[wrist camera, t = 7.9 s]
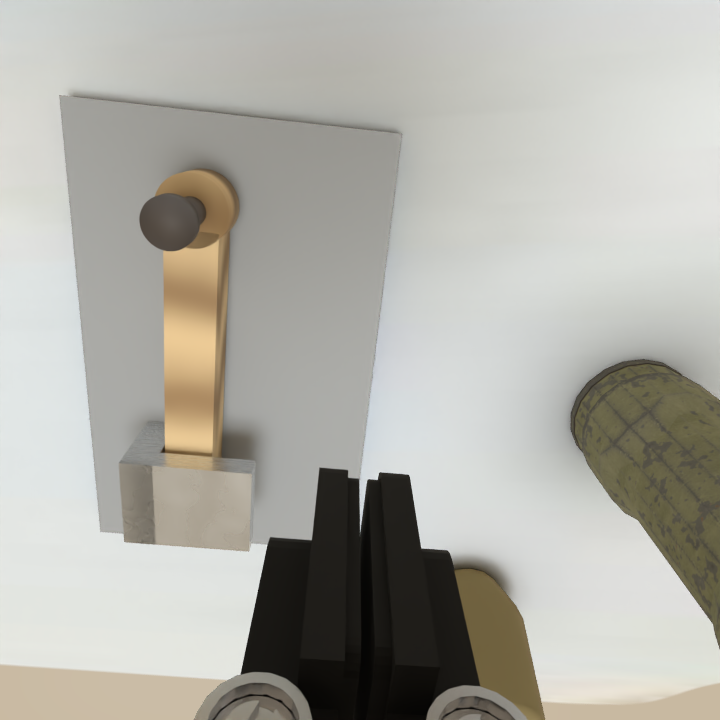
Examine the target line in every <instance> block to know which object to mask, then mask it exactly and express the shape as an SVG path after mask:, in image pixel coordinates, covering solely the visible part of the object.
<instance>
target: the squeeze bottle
mask: <svg viewBox="0 0 720 720" xmlns="http://www.w3.org/2000/svg"><path fill="white" fill-rule="evenodd" d="M454 571H455V576H456V580H457V585H458V589H459V594H460V598H461V602H462V607H463V611H464V616H465V620H466V625H467V629H468V633H469V638H470V642H471V647H472V651H473V656H474V660H475V664H476V669H477V673H478V678H479V682H480V687H483V688H486V689H488V690H491V691H494V692H497V693H498V694H500V695H501V696H503V697H504V698H506V699H507V700H509V701H511V702H512V703H513V704H514V705H515V706H516V707H517V708H518V709H519V710H520V711H521V712H522V713H523V714H524V715H525V716H526V718H527V720H545V717H544V713H543V707H542V703H541V698H540V694H539V689H538V685H537V680H536V676H535V671H534V666H533V662H532V657H531V653H530V648H529V644H528V639H527V634H526V630H525V625H524V621H523V618H522V616H521V614H520V612H519V610H518V609H517V607H516V605H515V604H514V603H513V601H512V600H511V599H510V598H509V597H508V596H507V594H506V593H505V592H504V591H503V590H502V588H501V587H500V586H499V585H498V584H497V583H496V581H495V580H494V579H493V578H492V577H490V576H489V575H487V574H486V573H484V572H483V571H478V570H474V569H458V570H454Z"/></svg>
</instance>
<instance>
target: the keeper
mask: <svg viewBox="0 0 720 720" xmlns="http://www.w3.org/2000/svg"><path fill="white" fill-rule="evenodd" d="M118 464H119V477H120V491H121V504H122V518H123V531H124V542H129V543H143V544H156V545H170V546H183V547H196V548H210V549H223V550H236V551H249V550H250V546H251V542H252V538H253V521H254V494H255V468H256V460H244V459H232V458H220V457H208V456H196V455H184V454H171V453H165V422H161V421H149V420H148V422H147V423H146V425H145V426H144V428H143V429H142V430H141V432H140V433H139V435H138V436H137V438H136V439H135V440H134V442H133V443H132V445H131V446H130V448H129V449H128V450H127V452H126V453H125V455H124V456H123V457H122V459H121V460H120V462H119V463H118Z"/></svg>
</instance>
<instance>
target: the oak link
mask: <svg viewBox="0 0 720 720" xmlns="http://www.w3.org/2000/svg"><path fill="white" fill-rule="evenodd" d="M238 215H239V199H238V196H237V193H236V191H235V189H234V187H233V186H232V184H231V183H230V182H229V181H228V180H227V179H226V178H225V177H224V176H223V175H221V174H220V173H218V172H216V171H213V170H210V169H202V168H200V169H193V170H189V171H185V172H182V173H178V174H175V175H172V176H170V177H169V178H167V179H166V180H165V181H164V182H163V183H162V184H161V185H160V186H159V188H158V190H157V192H156V194H155V197H153V198H151V199H149V200H148V201H147V202H146V203H145V204H144V205H143V207H142V209H141V212H140V216H139V222H140V228H141V231H142V233H143V235H144V236H145V238H146V239H147V240H148V241H149V242H150V243H151V244H152V245H153V246H155V247H156V248H158V249H161V250H163V277H164V396H165V453H171V454H184V455H196V456H208V457H220V458H222V432H223V405H224V378H225V351H226V324H227V298H228V271H229V244H230V230H231V229H232V228H233V226H234V225H235V223H236V221H237V219H238Z"/></svg>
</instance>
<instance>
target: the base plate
mask: <svg viewBox="0 0 720 720" xmlns="http://www.w3.org/2000/svg"><path fill="white" fill-rule="evenodd" d="M59 96H60V107H61V118H62V128H63V139H64V150H65V160H66V171H67V181H68V192H69V203H70V213H71V224H72V234H73V245H74V256H75V266H76V277H77V288H78V298H79V309H80V319H81V330H82V341H83V351H84V362H85V372H86V383H87V394H88V404H89V415H90V426H91V436H92V447H93V457H94V468H95V479H96V489H97V500H98V511H99V521H100V532H110V533H123V534H124V531H123V518H122V504H121V491H120V477H119V464H118V463H119V462H120V460H121V459H122V457H123V456H124V455H125V453H126V452H127V450H128V449H129V448H130V446H131V445H132V443H133V442H134V440H135V439H136V438H137V436H138V435H139V433H140V432H141V430H142V429H143V428H144V426H145V425H146V423H147V422H148V420H149V421H161V422H165V396H164V277H163V250H161V249H158V248H156V247H155V246H153V245H152V244H151V243H150V242H149V241H148V240H147V239H146V238H145V236H144V235H143V233H142V231H141V228H140V222H139V216H140V212H141V209H142V207H143V205H144V204H145V203H146V202H147V201H148V200H149V199H151V198H153V197H155V194H156V192H157V190H158V188H159V186H160V185H161V184H162V183H163V182H164V181H165V180H166V179H167V178H169V177H170V176H172V175H175V174H178V173H182V172H185V171H189V170H193V169H200V168H202V169H210V170H213V171H216V172H218V173H220V174H221V175H223V176H224V177H225V178H226V179H227V180H228V181H229V182H230V183H231V184H232V186H233V187H234V189H235V191H236V193H237V196H238V199H239V215H238V219H237V221H236V223H235V225H234V226H233V228H232V229H231V230H230V244H229V271H228V298H227V324H226V351H225V378H224V405H223V432H222V458H232V459H244V460H256V468H255V494H254V521H253V538H252V542H251V543H255V544H268V541H269V538H270V537H276V538H289V539H302V540H312V534H313V524H314V515H315V505H316V495H317V485H318V476H319V467H320V468H332V469H344V470H348V478H358V479H360V471H361V463H362V454H363V446H364V438H365V430H366V422H367V414H368V406H369V398H370V390H371V381H372V373H373V365H374V357H375V349H376V341H377V333H378V325H379V317H380V308H381V300H382V292H383V284H384V276H385V268H386V260H387V252H388V244H389V235H390V227H391V219H392V211H393V203H394V195H395V187H396V179H397V171H398V162H399V154H400V146H401V138H402V134H400V133H391V132H382V131H374V130H365V129H356V128H347V127H338V126H329V125H320V124H311V123H302V122H294V121H285V120H276V119H267V118H258V117H249V116H240V115H231V114H223V113H214V112H205V111H196V110H187V109H178V108H169V107H160V106H152V105H143V104H134V103H125V102H116V101H107V100H98V99H89V98H81V97H72V96H63V95H59Z"/></svg>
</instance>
